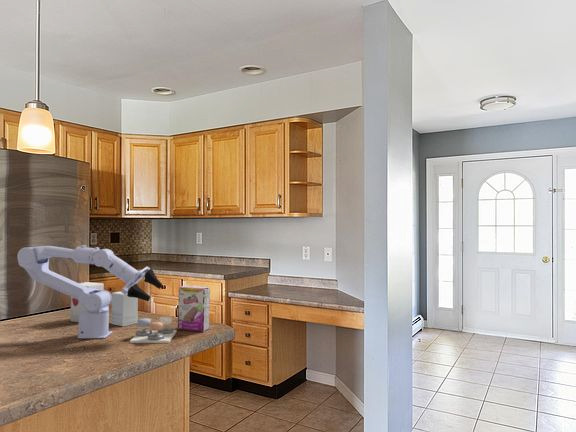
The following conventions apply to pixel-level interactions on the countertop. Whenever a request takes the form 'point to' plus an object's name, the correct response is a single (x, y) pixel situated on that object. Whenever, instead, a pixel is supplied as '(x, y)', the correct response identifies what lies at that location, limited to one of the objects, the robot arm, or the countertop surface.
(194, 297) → the candy bar box
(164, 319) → the cream button
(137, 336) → the panel
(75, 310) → the supplement box
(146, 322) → the slate button
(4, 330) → the countertop surface
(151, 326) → the terracotta button
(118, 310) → the supplement box
